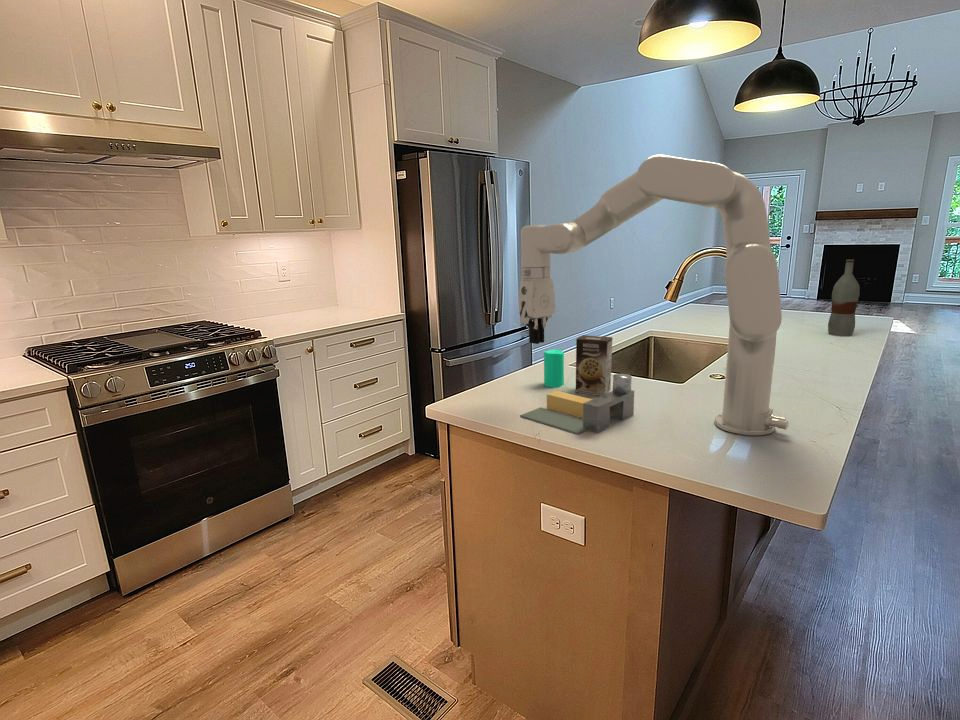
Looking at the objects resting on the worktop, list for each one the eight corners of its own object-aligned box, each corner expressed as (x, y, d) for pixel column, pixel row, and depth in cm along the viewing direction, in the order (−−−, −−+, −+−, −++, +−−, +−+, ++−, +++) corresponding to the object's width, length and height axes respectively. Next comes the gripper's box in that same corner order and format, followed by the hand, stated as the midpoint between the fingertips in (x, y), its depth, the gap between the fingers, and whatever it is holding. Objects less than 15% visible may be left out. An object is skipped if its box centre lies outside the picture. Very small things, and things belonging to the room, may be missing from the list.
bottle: (822, 332, 216) (831, 259, 209) (846, 332, 215) (856, 258, 207) (833, 336, 207) (843, 260, 200) (858, 336, 206) (869, 260, 198)
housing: (634, 415, 131) (635, 375, 128) (598, 433, 120) (598, 390, 118) (618, 411, 134) (620, 372, 132) (582, 428, 124) (582, 386, 121)
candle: (548, 388, 156) (548, 349, 153) (541, 383, 161) (540, 345, 158) (567, 386, 157) (567, 347, 154) (558, 381, 163) (558, 343, 160)
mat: (597, 424, 126) (597, 423, 126) (577, 434, 120) (577, 432, 120) (540, 408, 138) (540, 407, 138) (520, 416, 133) (520, 415, 133)
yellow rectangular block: (603, 417, 131) (603, 402, 130) (594, 421, 128) (594, 406, 127) (556, 404, 141) (556, 390, 140) (546, 408, 139) (546, 394, 138)
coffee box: (574, 392, 151) (575, 338, 147) (581, 386, 156) (581, 334, 152) (605, 396, 146) (607, 340, 142) (611, 389, 152) (612, 336, 148)
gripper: (527, 277, 127) (528, 349, 132) (565, 271, 137) (565, 339, 142) (505, 275, 133) (506, 345, 137) (543, 271, 143) (544, 336, 147)
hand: (536, 342), depth 139 cm, fingers closed
